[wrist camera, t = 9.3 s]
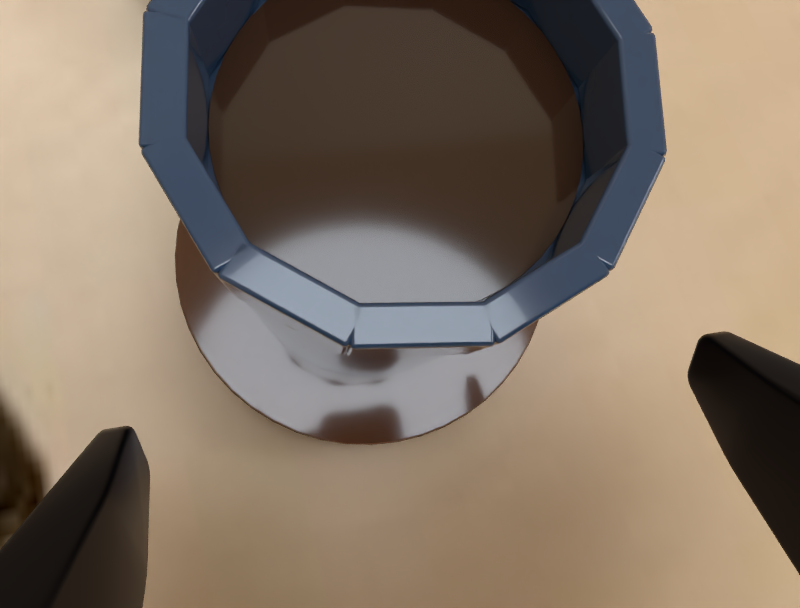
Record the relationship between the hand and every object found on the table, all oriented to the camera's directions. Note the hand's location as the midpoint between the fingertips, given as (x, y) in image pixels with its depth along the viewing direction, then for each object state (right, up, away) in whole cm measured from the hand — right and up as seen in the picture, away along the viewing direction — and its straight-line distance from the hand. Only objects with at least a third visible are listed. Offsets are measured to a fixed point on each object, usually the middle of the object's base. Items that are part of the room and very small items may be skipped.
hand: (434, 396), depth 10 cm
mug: (-2, +3, +9) cm, 10 cm away
